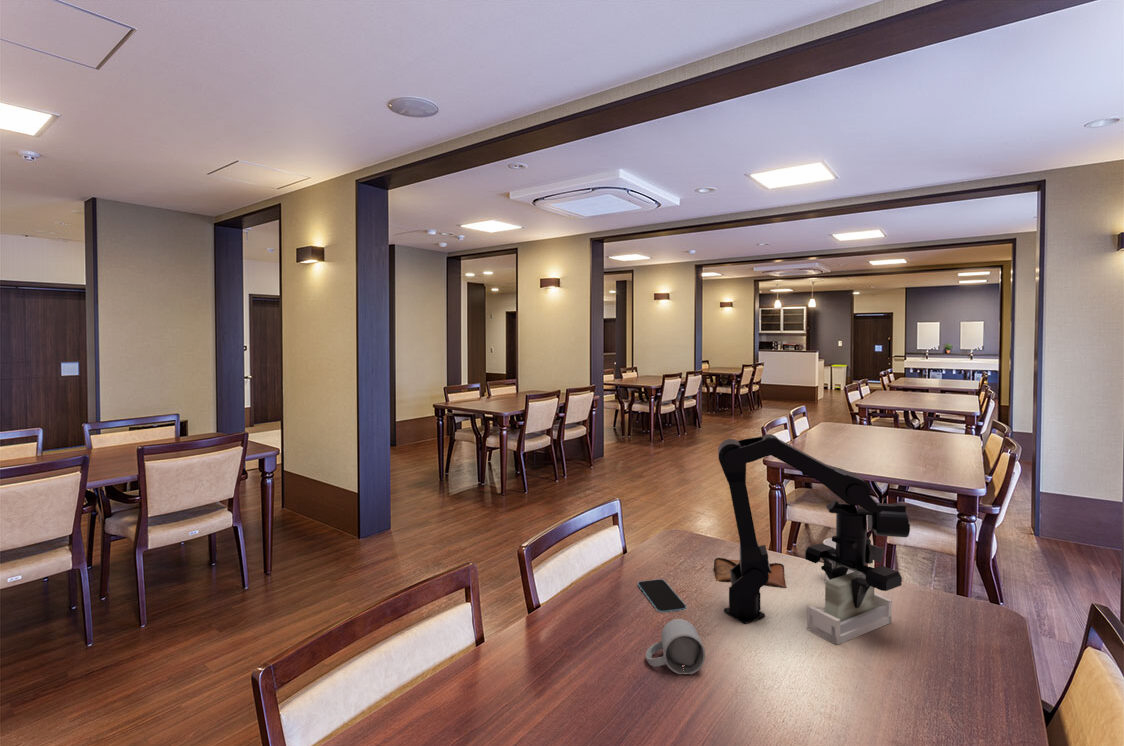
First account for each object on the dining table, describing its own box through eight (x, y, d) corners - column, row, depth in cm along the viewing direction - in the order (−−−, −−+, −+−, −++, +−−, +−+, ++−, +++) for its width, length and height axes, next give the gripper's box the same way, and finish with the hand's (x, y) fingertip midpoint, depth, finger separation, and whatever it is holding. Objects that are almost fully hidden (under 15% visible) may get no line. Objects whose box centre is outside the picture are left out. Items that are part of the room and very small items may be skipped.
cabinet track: (836, 645, 110) (837, 621, 110) (807, 629, 117) (807, 606, 116) (891, 622, 119) (891, 600, 118) (860, 608, 125) (861, 587, 125)
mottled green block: (837, 624, 113) (838, 586, 113) (824, 617, 116) (825, 581, 116) (873, 610, 119) (874, 574, 118) (860, 604, 122) (861, 569, 121)
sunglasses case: (714, 581, 140) (713, 554, 143) (713, 584, 146) (713, 558, 149) (789, 588, 135) (787, 560, 138) (785, 591, 141) (784, 564, 144)
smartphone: (658, 611, 124) (636, 581, 139) (658, 616, 124) (636, 585, 139) (688, 607, 126) (663, 578, 140) (688, 612, 126) (663, 582, 140)
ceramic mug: (697, 650, 109) (696, 613, 109) (706, 675, 101) (705, 635, 101) (643, 651, 110) (642, 614, 109) (648, 676, 102) (647, 636, 101)
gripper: (918, 540, 112) (916, 614, 113) (836, 514, 128) (835, 579, 129) (885, 550, 107) (883, 628, 108) (803, 522, 123) (803, 590, 124)
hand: (849, 604), depth 117 cm, fingers open, 3 cm apart
